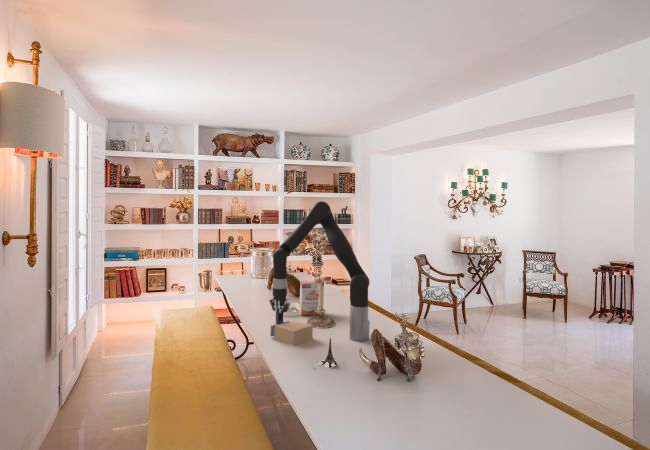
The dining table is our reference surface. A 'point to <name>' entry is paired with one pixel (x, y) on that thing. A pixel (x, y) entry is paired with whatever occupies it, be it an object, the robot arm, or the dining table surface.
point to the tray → (276, 324)
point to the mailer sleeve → (293, 332)
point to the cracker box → (309, 297)
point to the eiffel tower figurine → (329, 356)
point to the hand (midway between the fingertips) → (279, 319)
